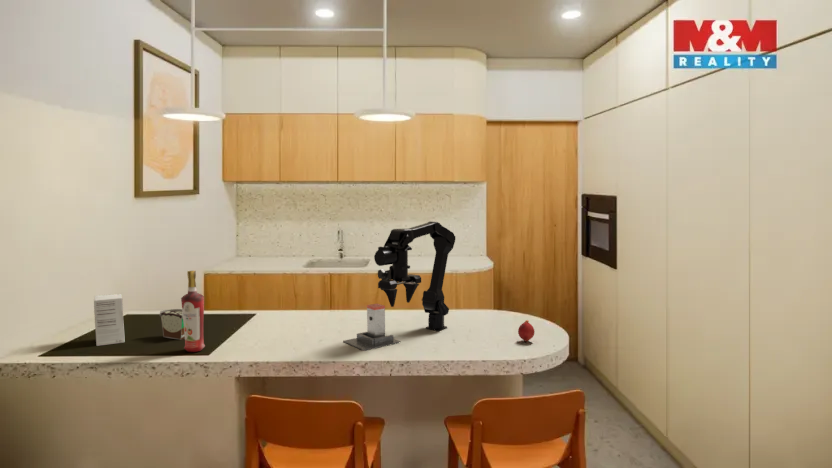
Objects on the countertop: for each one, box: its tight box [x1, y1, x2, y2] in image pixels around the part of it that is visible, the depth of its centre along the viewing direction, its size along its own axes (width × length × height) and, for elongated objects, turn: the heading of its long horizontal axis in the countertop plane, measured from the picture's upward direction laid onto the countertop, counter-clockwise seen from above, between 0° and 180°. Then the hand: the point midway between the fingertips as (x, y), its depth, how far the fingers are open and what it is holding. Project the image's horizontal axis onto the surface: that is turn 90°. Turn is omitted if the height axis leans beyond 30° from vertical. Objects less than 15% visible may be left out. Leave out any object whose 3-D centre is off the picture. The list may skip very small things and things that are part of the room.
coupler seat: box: [342, 331, 401, 352], centre depth 200 cm, size 16×14×3 cm
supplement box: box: [93, 293, 126, 347], centre depth 202 cm, size 10×9×17 cm
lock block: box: [366, 303, 386, 339], centre depth 201 cm, size 5×5×13 cm
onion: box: [517, 319, 535, 342], centre depth 199 cm, size 6×6×8 cm
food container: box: [159, 308, 185, 341], centre depth 209 cm, size 12×6×10 cm, turn 65°
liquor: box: [180, 270, 206, 353], centre depth 190 cm, size 7×7×28 cm
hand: (400, 304), depth 203 cm, fingers open, 9 cm apart
